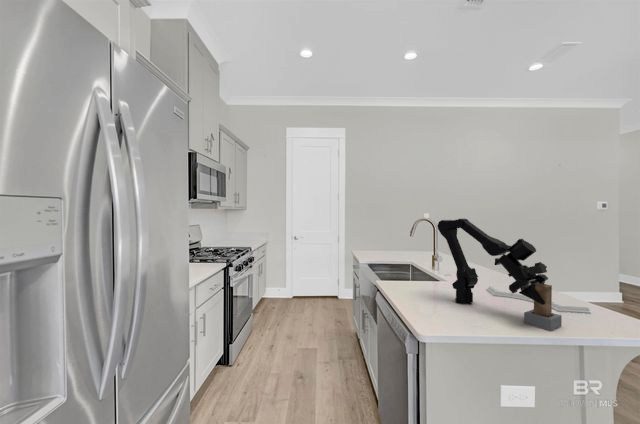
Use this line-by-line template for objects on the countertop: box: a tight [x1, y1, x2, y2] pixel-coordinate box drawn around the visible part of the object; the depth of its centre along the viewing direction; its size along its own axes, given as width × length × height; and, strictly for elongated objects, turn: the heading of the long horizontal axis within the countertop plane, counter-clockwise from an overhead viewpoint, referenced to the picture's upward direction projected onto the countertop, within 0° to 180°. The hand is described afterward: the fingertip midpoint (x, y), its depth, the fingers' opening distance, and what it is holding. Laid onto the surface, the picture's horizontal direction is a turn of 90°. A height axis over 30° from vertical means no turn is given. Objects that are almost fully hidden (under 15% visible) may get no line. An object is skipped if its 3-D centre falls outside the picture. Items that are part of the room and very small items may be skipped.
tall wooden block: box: [533, 283, 553, 318], centre depth 108 cm, size 4×4×13 cm
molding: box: [485, 285, 592, 315], centre depth 137 cm, size 42×12×3 cm, turn 32°
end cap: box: [523, 308, 563, 332], centre depth 108 cm, size 8×8×4 cm
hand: (546, 303), depth 107 cm, fingers closed on tall wooden block, 4 cm apart
